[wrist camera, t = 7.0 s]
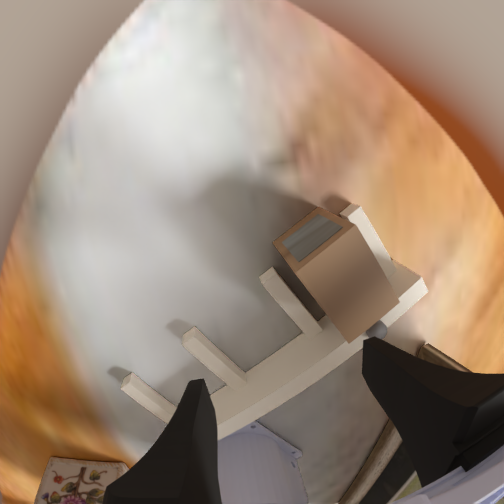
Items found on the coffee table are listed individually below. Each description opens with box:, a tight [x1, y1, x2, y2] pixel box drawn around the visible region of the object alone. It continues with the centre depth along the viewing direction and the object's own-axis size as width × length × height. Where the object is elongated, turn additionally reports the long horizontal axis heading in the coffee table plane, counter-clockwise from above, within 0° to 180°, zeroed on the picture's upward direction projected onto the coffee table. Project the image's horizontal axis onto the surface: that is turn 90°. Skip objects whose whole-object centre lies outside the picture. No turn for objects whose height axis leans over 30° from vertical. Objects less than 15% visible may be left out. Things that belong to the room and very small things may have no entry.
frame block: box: [272, 207, 400, 344], centre depth 19 cm, size 6×4×6 cm, turn 38°
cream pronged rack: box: [121, 203, 428, 440], centre depth 21 cm, size 8×24×5 cm, turn 128°
